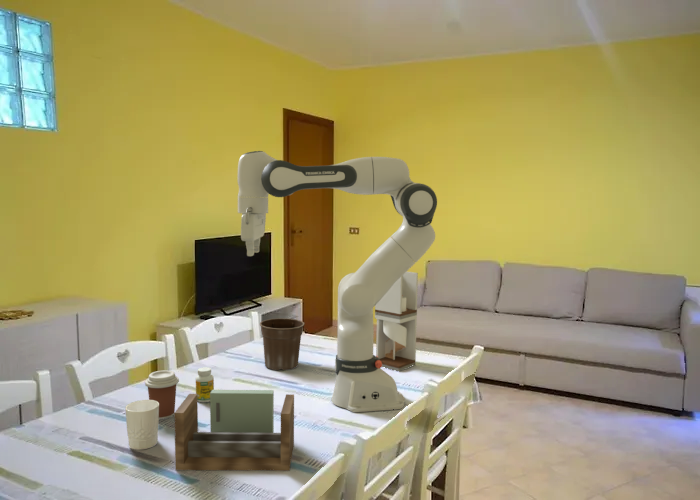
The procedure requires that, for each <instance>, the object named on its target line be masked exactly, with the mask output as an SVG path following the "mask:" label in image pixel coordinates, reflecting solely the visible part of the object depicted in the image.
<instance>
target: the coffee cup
mask: <svg viewBox="0 0 700 500" xmlns="http://www.w3.org/2000/svg"><path fill="white" fill-rule="evenodd" d="M179 382H180V379H179V377H178V376H176V373H175V372H174V371H172V370H157V371H153V372H151V373H150V374H149V375H148V378H146V380H145V381H144V385H145V387H147V393H148V400H154V401H157V402H158V403H159V421H160V420H161V421H162V420H167V419H171V418H173V417H175V416H174V413H175V412H176V396H177V384H179Z"/></svg>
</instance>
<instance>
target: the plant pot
mask: <svg viewBox="0 0 700 500" xmlns="http://www.w3.org/2000/svg"><path fill="white" fill-rule="evenodd" d="M259 326H260V328H261V335H262V343H263V356H264V357H263V358H264V366H265V368H267V369H269V370H273V371H279V370H283V371H288V370H294V369H297V367H298V365H299V359H300V349H301V348H300V347H301V339H302V335H303V329H304V326H305V322H304V321H302V320H299V319H297V318H296V319H295V318H285V317H283V318H269V319H265V320H261V322H260V323H259Z"/></svg>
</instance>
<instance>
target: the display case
mask: <svg viewBox="0 0 700 500" xmlns="http://www.w3.org/2000/svg"><path fill="white" fill-rule="evenodd" d="M418 278H419V273H418V272H413V271H407V272H405V273H404V274H403V275H402V276H401V277H400V278H399V279H398V280H397V281H396V282H395V283H394V284H393V286H392V287H391V288H390V289H389V290H388V292H387V293H386V294H385V295H384V296H383V297H382V298H381V300H380V301H379V302H378V303H377V304H376V305H375V306H374V319H376V343H375V346H376V349H375V353H376V354H375V356H376V355H377V356H378V358H379V359H380V361H381V362H382V367H381V368H383V367H385V368H384V369H387V368H388V370H391V369H392V370H391V371H394V370H396V371H395V372H398V371H399V372H401V371H400V370H402V371H404V370H406V369H405V368H407V369H409V368H411V367H410V366H412V365H414V366H416V358H417V356H416V355H417V354H416V353H417V351H416V350H417V324H418V322H417V321H418V317H417V316H418V287H419V286H418V282H419V279H418ZM408 367H409V368H408ZM412 367H413V366H412ZM403 369H404V370H403Z"/></svg>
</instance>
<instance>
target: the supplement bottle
mask: <svg viewBox="0 0 700 500" xmlns="http://www.w3.org/2000/svg"><path fill="white" fill-rule="evenodd" d="M214 381H215V380H214V376H213V374H212V368H211V367H200V368H198V369H197V376H196V377H195V394H197V403H209V402H210V393H211V391H212V390H215V389H214V387H215V382H214Z"/></svg>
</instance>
